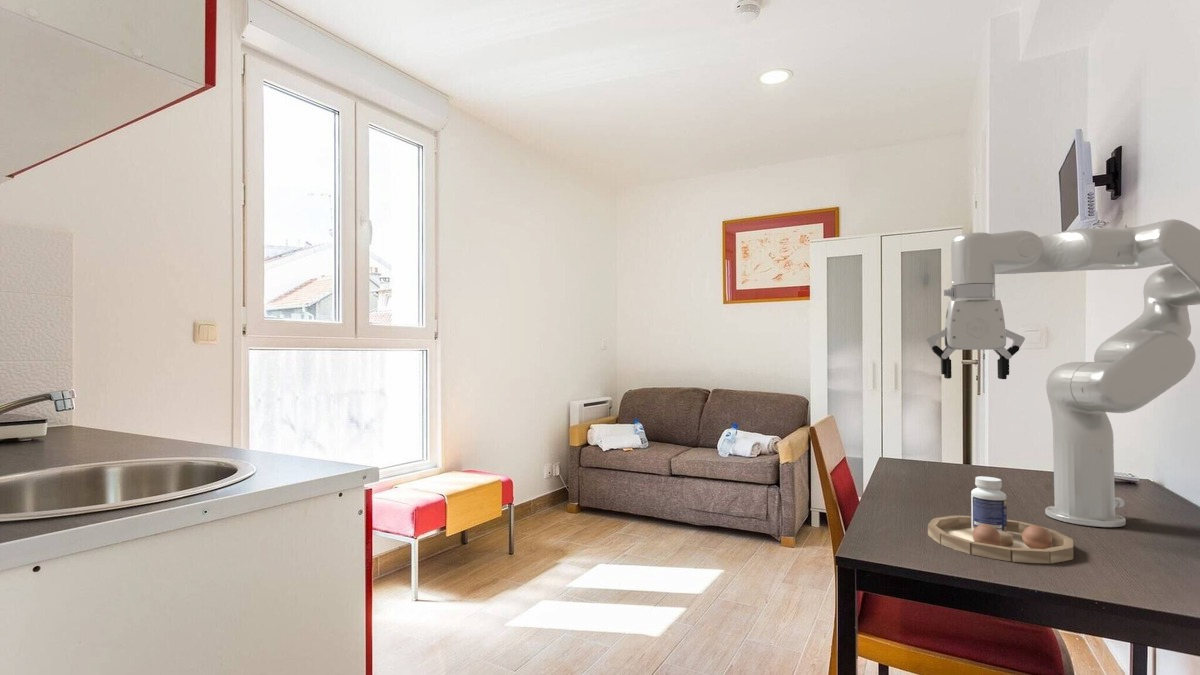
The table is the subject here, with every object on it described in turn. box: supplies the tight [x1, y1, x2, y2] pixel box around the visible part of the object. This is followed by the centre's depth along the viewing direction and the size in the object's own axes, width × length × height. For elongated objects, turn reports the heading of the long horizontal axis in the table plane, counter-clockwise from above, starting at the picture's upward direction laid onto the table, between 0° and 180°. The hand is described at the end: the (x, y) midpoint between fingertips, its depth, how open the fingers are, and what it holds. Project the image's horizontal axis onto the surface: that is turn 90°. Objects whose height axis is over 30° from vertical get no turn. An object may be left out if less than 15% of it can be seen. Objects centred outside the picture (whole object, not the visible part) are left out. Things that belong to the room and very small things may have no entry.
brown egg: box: [972, 524, 1001, 546], centre depth 99 cm, size 4×4×4 cm
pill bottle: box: [970, 475, 1008, 532], centre depth 108 cm, size 5×5×10 cm
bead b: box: [1022, 524, 1052, 549], centre depth 99 cm, size 4×4×4 cm
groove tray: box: [927, 515, 1074, 564], centre depth 103 cm, size 20×20×3 cm
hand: (974, 378), depth 122 cm, fingers open, 9 cm apart
